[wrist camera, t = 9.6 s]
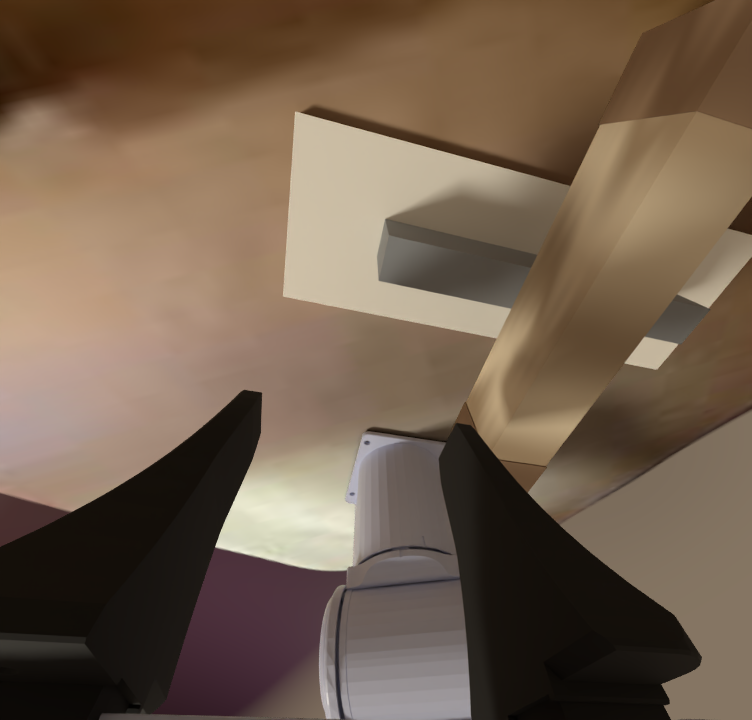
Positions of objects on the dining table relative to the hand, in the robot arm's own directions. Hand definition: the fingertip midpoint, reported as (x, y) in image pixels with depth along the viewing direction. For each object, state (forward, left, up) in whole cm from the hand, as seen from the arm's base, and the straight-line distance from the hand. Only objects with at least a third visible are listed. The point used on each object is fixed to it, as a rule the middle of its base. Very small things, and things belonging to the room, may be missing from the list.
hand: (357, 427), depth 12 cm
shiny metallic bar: (+4, -8, -5) cm, 11 cm away
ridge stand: (+5, -8, -10) cm, 14 cm away
